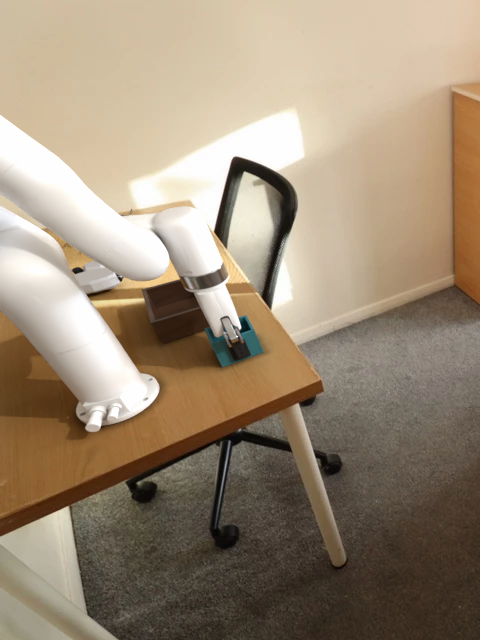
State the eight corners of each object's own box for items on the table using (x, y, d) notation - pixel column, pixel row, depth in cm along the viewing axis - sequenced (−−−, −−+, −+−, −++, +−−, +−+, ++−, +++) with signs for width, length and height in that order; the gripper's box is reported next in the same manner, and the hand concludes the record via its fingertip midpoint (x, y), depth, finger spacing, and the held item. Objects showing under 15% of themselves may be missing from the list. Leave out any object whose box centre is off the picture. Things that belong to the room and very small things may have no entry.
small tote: (255, 336, 102) (246, 314, 99) (263, 352, 99) (254, 329, 95) (215, 351, 99) (204, 328, 95) (222, 367, 95) (210, 344, 91)
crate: (234, 320, 107) (225, 300, 103) (163, 344, 100) (150, 323, 96) (218, 290, 116) (210, 270, 113) (152, 309, 110) (141, 289, 106)
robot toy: (75, 279, 120) (66, 305, 110) (65, 263, 118) (55, 288, 107) (132, 267, 125) (129, 291, 115) (124, 252, 123) (119, 274, 112)
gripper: (173, 261, 90) (209, 334, 102) (190, 303, 80) (228, 379, 91) (216, 250, 94) (246, 322, 105) (237, 289, 83) (269, 364, 95)
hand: (238, 348), depth 98 cm, fingers closed on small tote, 6 cm apart
